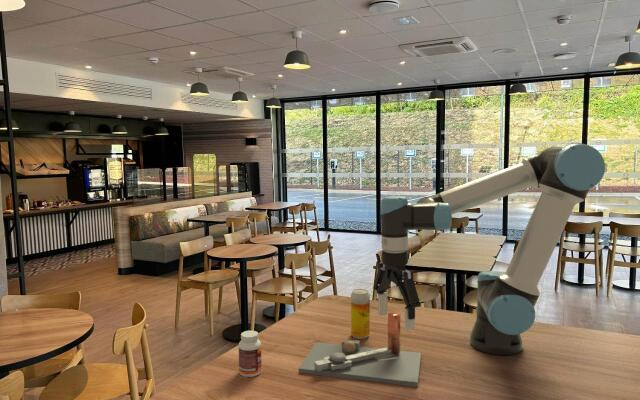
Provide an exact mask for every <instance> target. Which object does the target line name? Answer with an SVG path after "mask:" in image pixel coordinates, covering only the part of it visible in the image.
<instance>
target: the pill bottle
mask: <svg viewBox="0 0 640 400" xmlns="http://www.w3.org/2000/svg"><path fill="white" fill-rule="evenodd" d="M240 339H241V340H240V341H239V343H238V372H239V375H241V376H242V377H246V378H249V377H250V378H251V377H256V376H258V375H260V374H261V373H262V369H263V368H262V343H261V341H260V339H259V332H258V331H256V330H245V331H243V332H241V334H240Z"/></svg>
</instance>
